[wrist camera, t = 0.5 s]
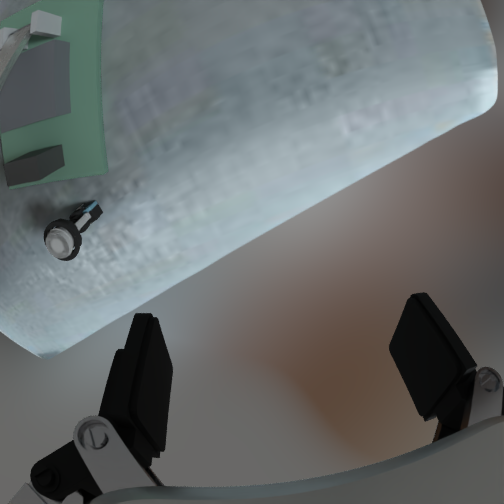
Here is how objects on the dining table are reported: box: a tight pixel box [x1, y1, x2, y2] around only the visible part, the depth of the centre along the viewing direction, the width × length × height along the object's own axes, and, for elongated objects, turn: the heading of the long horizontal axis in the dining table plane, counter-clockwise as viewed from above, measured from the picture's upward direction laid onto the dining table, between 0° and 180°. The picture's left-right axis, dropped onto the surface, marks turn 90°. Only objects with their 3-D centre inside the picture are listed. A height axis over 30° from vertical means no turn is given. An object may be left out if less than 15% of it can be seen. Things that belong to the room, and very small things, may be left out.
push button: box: [44, 201, 103, 261], centre depth 33 cm, size 7×5×10 cm
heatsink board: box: [0, 0, 108, 190], centre depth 24 cm, size 28×18×8 cm, turn 179°
